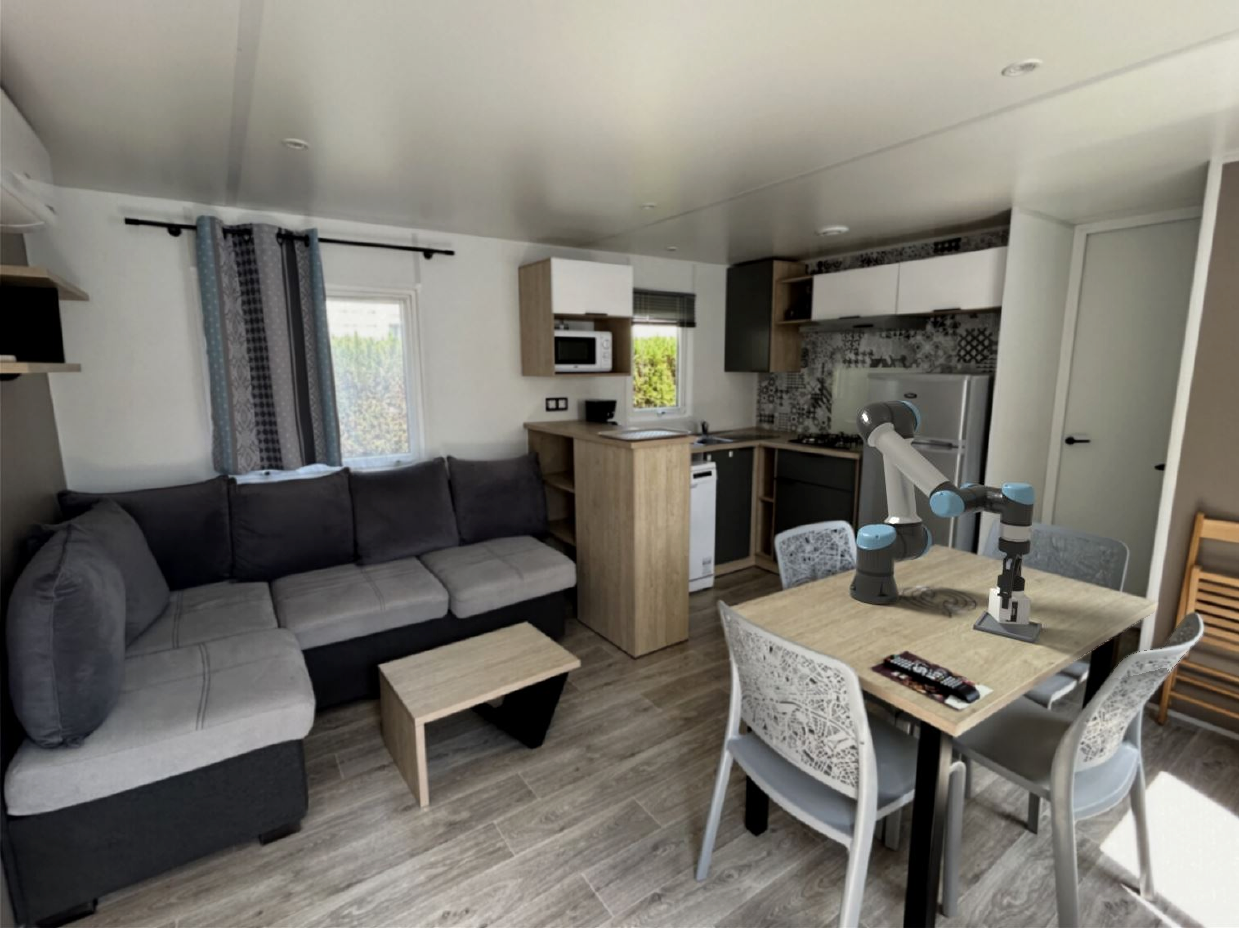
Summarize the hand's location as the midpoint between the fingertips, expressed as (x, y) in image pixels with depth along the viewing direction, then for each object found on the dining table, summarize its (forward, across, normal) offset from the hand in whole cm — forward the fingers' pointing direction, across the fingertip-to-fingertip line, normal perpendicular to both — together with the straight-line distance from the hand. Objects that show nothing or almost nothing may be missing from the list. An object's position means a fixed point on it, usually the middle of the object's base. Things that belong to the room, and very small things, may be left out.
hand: (1008, 612), depth 168 cm
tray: (+5, 0, 0) cm, 5 cm away
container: (+2, 0, 0) cm, 2 cm away
